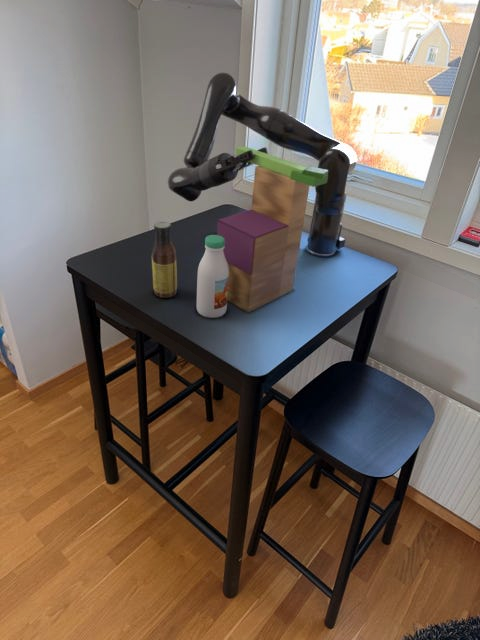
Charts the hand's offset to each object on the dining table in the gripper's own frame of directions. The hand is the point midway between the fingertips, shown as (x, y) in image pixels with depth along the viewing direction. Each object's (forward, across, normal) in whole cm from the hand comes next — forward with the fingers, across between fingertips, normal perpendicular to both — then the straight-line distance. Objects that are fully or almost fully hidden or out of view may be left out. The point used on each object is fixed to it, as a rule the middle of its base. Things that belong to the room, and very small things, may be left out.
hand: (259, 152), depth 118 cm
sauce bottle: (-22, -26, +27) cm, 44 cm away
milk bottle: (-10, -22, +34) cm, 42 cm away
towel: (-5, -9, +25) cm, 27 cm away
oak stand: (-10, -6, +34) cm, 36 cm away
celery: (+5, 0, +6) cm, 7 cm away
